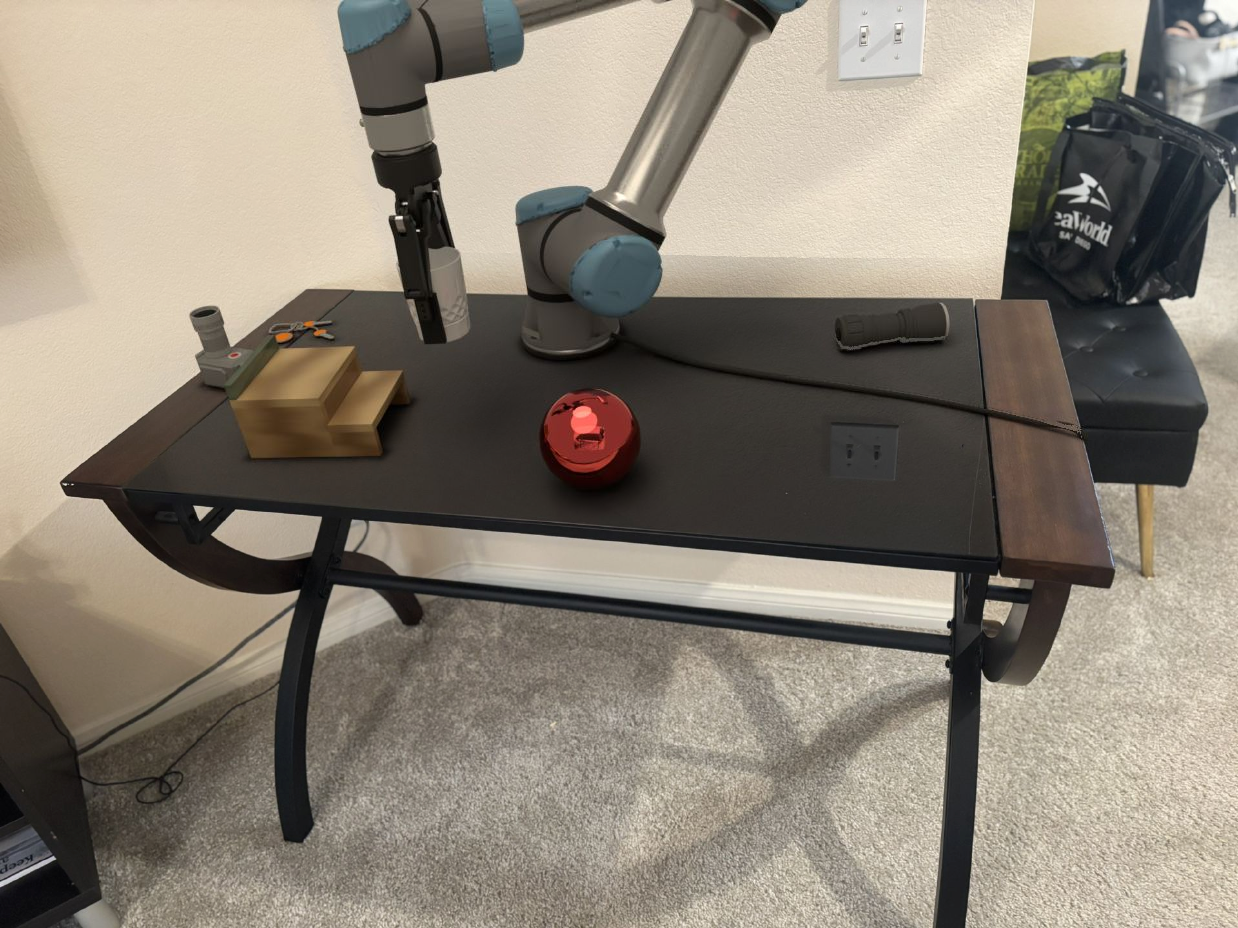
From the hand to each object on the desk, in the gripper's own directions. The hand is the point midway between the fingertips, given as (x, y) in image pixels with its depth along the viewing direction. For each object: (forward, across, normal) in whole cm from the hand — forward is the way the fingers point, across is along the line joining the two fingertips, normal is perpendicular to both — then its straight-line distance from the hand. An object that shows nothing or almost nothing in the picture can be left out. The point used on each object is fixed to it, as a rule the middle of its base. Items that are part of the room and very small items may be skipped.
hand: (444, 327), depth 116 cm
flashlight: (+15, -18, +59) cm, 64 cm away
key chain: (+14, -29, -34) cm, 47 cm away
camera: (+14, -12, -36) cm, 41 cm away
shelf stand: (+14, +1, -18) cm, 23 cm away
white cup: (+1, 0, 0) cm, 1 cm away
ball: (+15, +14, +20) cm, 28 cm away
